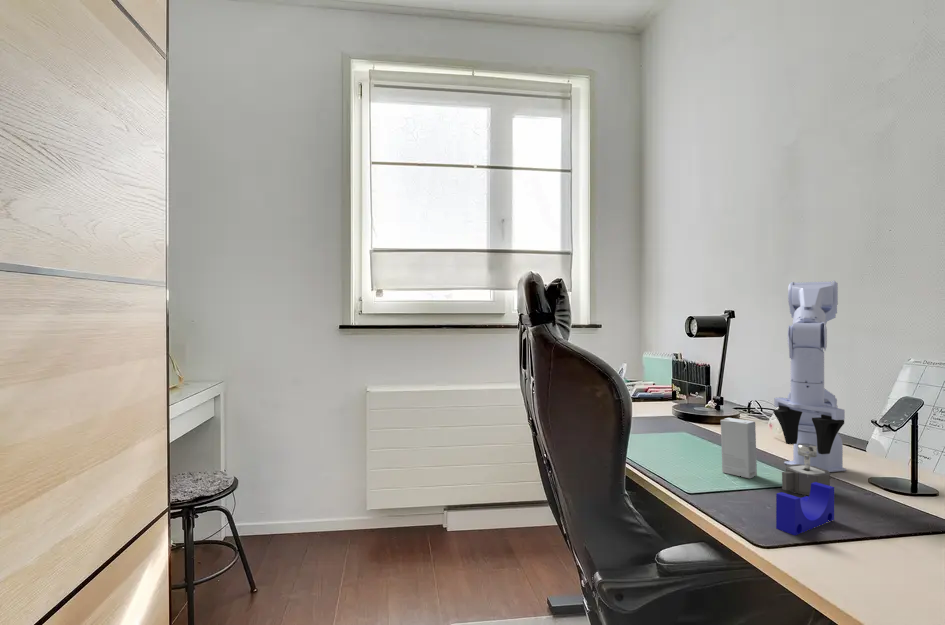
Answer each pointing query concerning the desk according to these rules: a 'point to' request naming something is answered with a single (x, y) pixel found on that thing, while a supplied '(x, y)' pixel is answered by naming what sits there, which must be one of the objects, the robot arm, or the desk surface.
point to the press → (803, 478)
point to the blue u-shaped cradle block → (805, 509)
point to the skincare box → (738, 447)
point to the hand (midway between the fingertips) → (807, 448)
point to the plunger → (807, 453)
